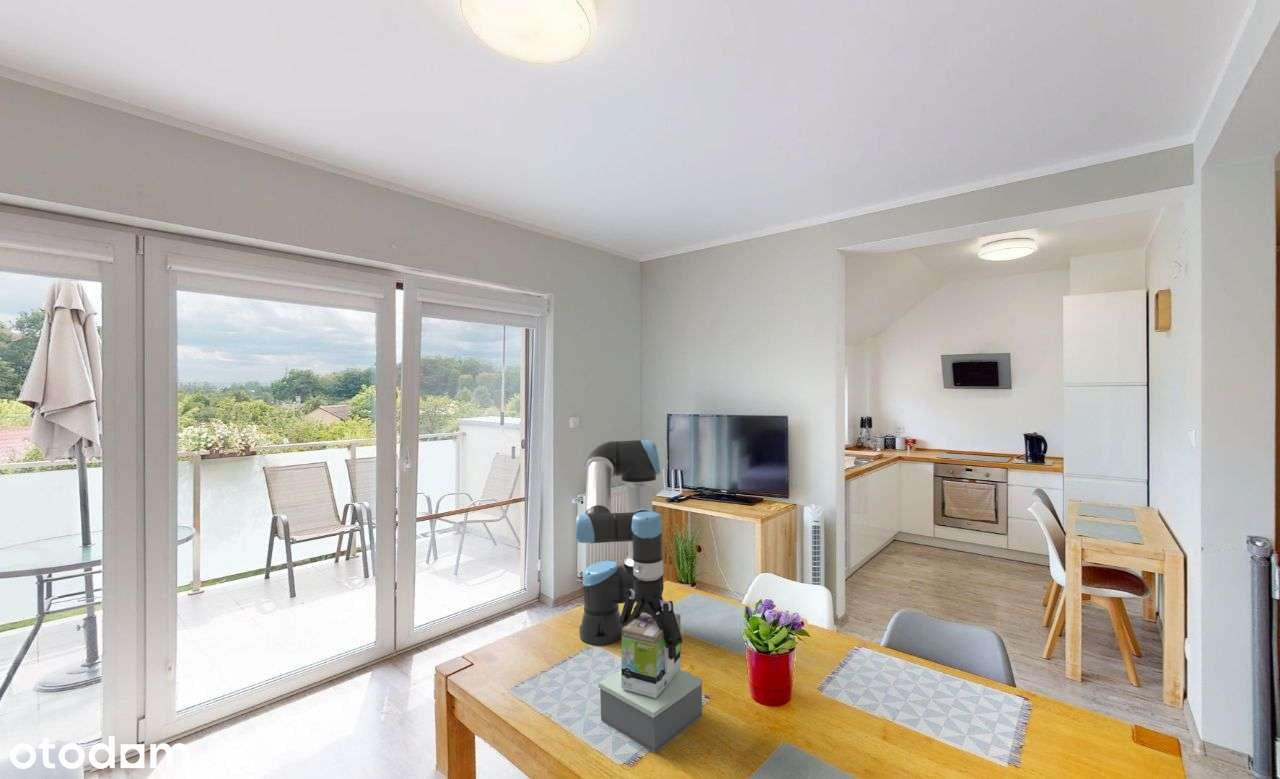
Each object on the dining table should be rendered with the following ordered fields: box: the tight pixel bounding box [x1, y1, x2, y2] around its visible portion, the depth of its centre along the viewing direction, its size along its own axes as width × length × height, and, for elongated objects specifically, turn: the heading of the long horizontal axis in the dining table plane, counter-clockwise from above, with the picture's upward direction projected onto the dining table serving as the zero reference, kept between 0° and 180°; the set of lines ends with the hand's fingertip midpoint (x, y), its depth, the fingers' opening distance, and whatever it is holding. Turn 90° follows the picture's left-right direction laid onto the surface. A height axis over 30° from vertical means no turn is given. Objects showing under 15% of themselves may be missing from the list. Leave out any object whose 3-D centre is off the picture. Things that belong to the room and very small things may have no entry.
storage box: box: [599, 683, 703, 754], centre depth 132 cm, size 18×18×8 cm
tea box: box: [620, 611, 682, 698], centre depth 132 cm, size 15×10×15 cm, turn 153°
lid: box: [597, 668, 703, 718], centre depth 132 cm, size 18×18×1 cm
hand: (650, 661), depth 132 cm, fingers open, 12 cm apart
